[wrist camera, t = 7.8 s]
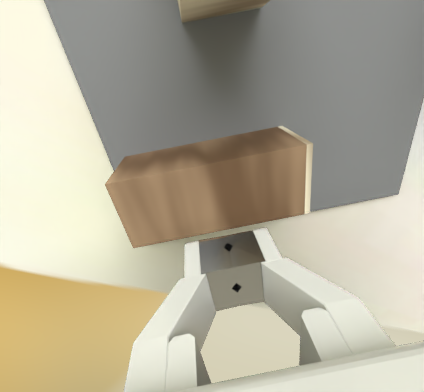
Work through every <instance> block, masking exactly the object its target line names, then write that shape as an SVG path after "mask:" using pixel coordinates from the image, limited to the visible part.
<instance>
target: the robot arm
mask: <svg viewBox="0 0 424 392" xmlns="http://www.w3.org/2000/svg"><path fill="white" fill-rule="evenodd" d="M264 301H265V303H266V304H267V305H268V306H269V307H270V308H271V309H272V310H273V311H274V312H275V313H276V314H277V315H279V317H281V318H282V319H283V320H284V321H285V322H286V323H287V324H288V325H289V326H290V327H291V328H292V329H293V330H294V331H295V332H296V333H297V334H299V335H300V362H299V365H300V366H296V367H291V368H287V369H281V370H276V371H272V372H266V373H262V374H257V375H252V376H247V377H242V378H237V379H232V380H227V381H222V382H217V383H212V384H211V381H210V378H209V375H208V373H207V370H206V367H205V364H204V361H203V359H202V356H201V353H200V351H201V349H202V346H203V344H204V341H205V339H206V336H207V334H208V331H209V329H210V326H211V324H212V321H213V319H214V316H215V314H216V311H219V310H223V309H227V308H231V307H236V306H241V305H247V304H252V303H258V302H264ZM124 392H424V341H420V342H415V343H410V344H405V345H400V346H396V345H395V344H394V343H393V341H392V340H391V339H390V337H389V336H388V335H387V333H386V332H385V331H384V329H383V328H382V327H381V326H380V324H379V323H378V322H377V320H376V319H375V318H374V316H373V315H372V314H371V312H370V311H369V310H368V308H367V307H366V306H365V305H364V303H363V302H362V301H361V299H360V298H358V297H357V296H355V295H353V294H351V293H350V292H348V291H346V290H344V289H342V288H341V287H339V286H337V285H335V284H334V283H332V282H330V281H328V280H326V279H325V278H323V277H321V276H319V275H318V274H316V273H314V272H312V271H310V270H309V269H307V268H305V267H303V266H302V265H300V264H298V263H296V262H294V261H293V260H291V259H289V258H287V257H286V258H282V256H281V254H280V252H279V250H278V248H277V246H276V244H275V242H274V240H273V239H272V237H271V235H270V233H269V231H268V229H267V228H266V227H263V228H259V229H255V230H252V231H247V232H242V233H237V234H232V235H227V236H221V237H216V238H210V239H204V240H199V241H194V242H189V243H185V246H184V278H182V279H179V281H178V282H177V283H176V285H175V286H174V288H173V289H172V290H171V292H170V293H169V294H168V296H167V297H166V299H165V300H164V301H163V303H162V304H161V306H160V307H159V308H158V310H157V311H156V312H155V314H154V315H153V317H152V318H151V320H150V321H149V322H148V324H147V325H146V326H145V328H144V329H143V331H142V332H141V333H140V335H139V336H138V338H137V339H136V340H135V342H134V343H133V347H132V353H131V358H130V363H129V368H128V373H127V378H126V383H125V388H124Z"/></svg>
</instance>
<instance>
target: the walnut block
mask: <svg viewBox="0 0 424 392" xmlns="http://www.w3.org/2000/svg"><path fill="white" fill-rule="evenodd" d="M312 154H313V143H311V142H310V141H308V140H306V139H304V138H303V137H301V136H299V135H298V134H296V133H294V132H292V131H291V130H289V129H287V128H285V127H284V126H278V127H273V128H268V129H263V130H258V131H253V132H248V133H243V134H237V135H232V136H227V137H222V138H217V139H212V140H207V141H202V142H197V143H192V144H187V145H182V146H176V147H171V148H166V149H161V150H156V151H151V152H146V153H141V154H136V155H131V156H126V157H124V158H123V160H122V161H121V163H120V164H119V165H118V167H117V168H116V170H115V171H114V172H113V174H112V175H111V177H110V178H109V179H108V181H107V182H106V184H105V186H106V188H107V190H108V192H109V195H110V197H111V199H112V201H113V204H114V206H115V208H116V210H117V213H118V215H119V217H120V219H121V222H122V224H123V226H124V228H125V231H126V233H127V235H128V237H129V240H130V242H131V244H132V246H133V248H136V247H141V246H146V245H151V244H156V243H161V242H167V241H172V240H177V239H182V238H187V237H192V236H197V235H202V234H207V233H212V232H217V231H222V230H227V229H232V228H237V227H242V226H247V225H252V224H257V223H262V222H267V221H272V220H277V219H282V218H287V217H292V216H297V215H302V214H307V213H310V198H311V176H312Z"/></svg>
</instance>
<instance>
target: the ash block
mask: <svg viewBox="0 0 424 392" xmlns="http://www.w3.org/2000/svg"><path fill="white" fill-rule="evenodd" d="M177 1H178V6H179V11H180V16H181V22H182V23H187V22H192V21H197V20H202V19H207V18H213V17H218V16H223V15H228V14H233V13H238V12H243V11H249V10H254V9H259V8H262V7H263V6H264V5H265V4H266V3H268V2H269V1H270V0H177Z"/></svg>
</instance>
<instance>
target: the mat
mask: <svg viewBox="0 0 424 392" xmlns="http://www.w3.org/2000/svg"><path fill="white" fill-rule="evenodd" d="M44 2H45V4H46V6H47V9H48V11H49V14H50V16H51V19H52V21H53V24H54V26H55V28H56V31H57V33H58V36H59V38H60V41H61V43H62V45H63V48H64V50H65V53H66V55H67V58H68V60H69V62H70V65H71V67H72V70H73V72H74V75H75V77H76V80H77V82H78V84H79V87H80V89H81V92H82V94H83V97H84V99H85V101H86V104H87V106H88V109H89V111H90V114H91V116H92V119H93V121H94V123H95V126H96V128H97V131H98V133H99V136H100V138H101V140H102V143H103V145H104V148H105V150H106V153H107V155H108V158H109V160H110V162H111V165H112V167H113V170H114V171H115V170H116V168H117V167H118V165H119V164H120V163H121V161H122V160H123V158H124V157H126V156H131V155H136V154H141V153H146V152H151V151H156V150H161V149H166V148H171V147H176V146H182V145H187V144H192V143H197V142H202V141H207V140H212V139H217V138H222V137H227V136H232V135H237V134H243V133H248V132H253V131H258V130H263V129H268V128H273V127H278V126H284V127H285V128H287V129H289V130H291V131H292V132H294V133H296V134H298V135H299V136H301V137H303V138H304V139H306V140H308V141H310V142H311V143H313V154H312V176H311V198H310V212H312V211H317V210H322V209H327V208H332V207H337V206H342V205H347V204H352V203H357V202H362V201H367V200H372V199H377V198H382V197H387V196H392V195H397V194H399V190H400V186H401V182H402V179H403V175H404V171H405V167H406V163H407V159H408V156H409V152H410V148H411V144H412V140H413V136H414V133H415V129H416V125H417V121H418V117H419V113H420V110H421V106H422V102H423V98H424V0H270V1H269V2H268V3H266V4H265V5H264V6H263V7H262V8H259V9H254V10H249V11H243V12H238V13H233V14H228V15H223V16H218V17H213V18H207V19H202V20H197V21H192V22H187V23H182V22H181V16H180V11H179V6H178V1H177V0H44Z"/></svg>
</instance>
